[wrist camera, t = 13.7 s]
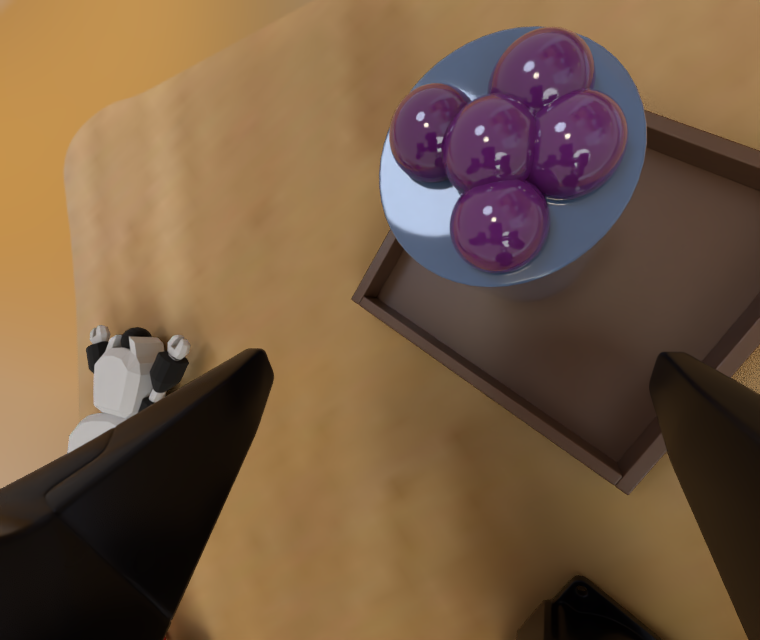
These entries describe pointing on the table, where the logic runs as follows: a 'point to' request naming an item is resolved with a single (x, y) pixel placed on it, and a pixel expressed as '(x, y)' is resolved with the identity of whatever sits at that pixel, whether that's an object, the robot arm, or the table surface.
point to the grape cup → (514, 161)
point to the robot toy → (128, 377)
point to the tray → (606, 307)
